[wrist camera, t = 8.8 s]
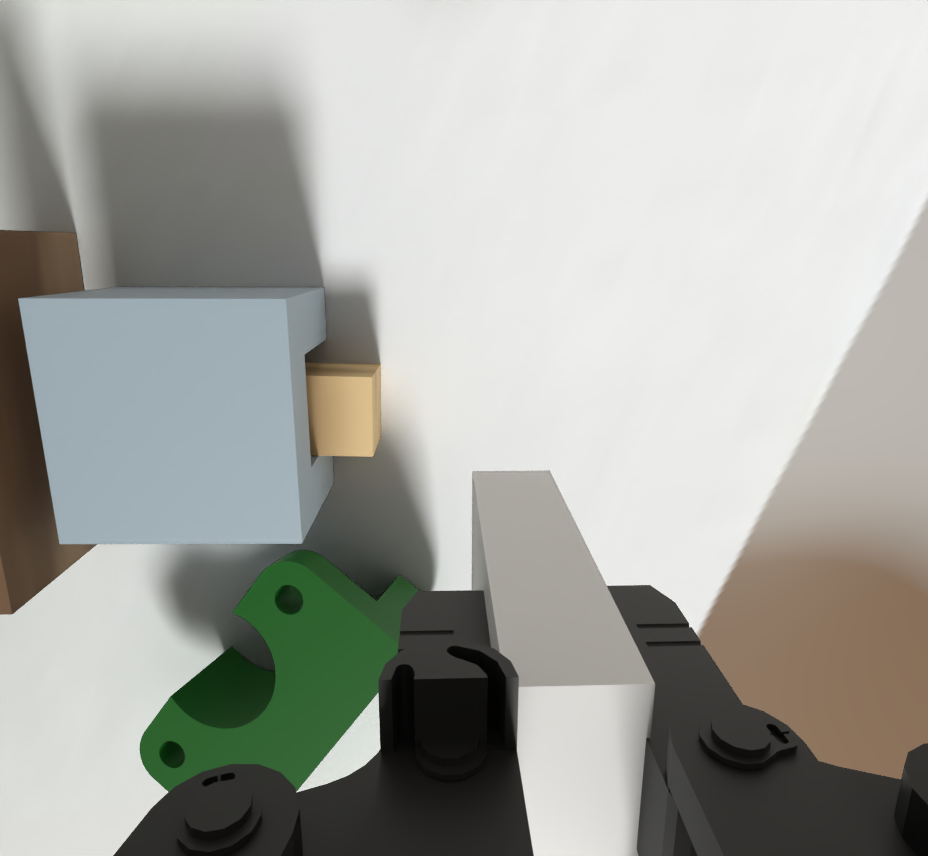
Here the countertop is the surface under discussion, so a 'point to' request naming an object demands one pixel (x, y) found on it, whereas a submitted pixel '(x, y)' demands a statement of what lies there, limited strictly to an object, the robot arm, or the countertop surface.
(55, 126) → the countertop surface
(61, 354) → the block
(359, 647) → the clamp
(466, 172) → the countertop surface
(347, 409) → the tan rectangular bar
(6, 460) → the wall
